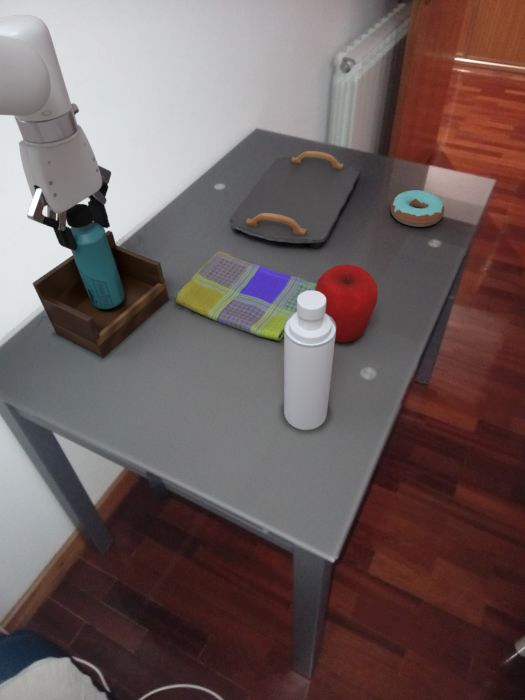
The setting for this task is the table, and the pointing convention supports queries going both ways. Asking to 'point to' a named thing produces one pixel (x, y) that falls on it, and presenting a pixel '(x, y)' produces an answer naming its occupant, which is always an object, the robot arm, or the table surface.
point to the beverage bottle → (94, 259)
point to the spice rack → (93, 323)
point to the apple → (348, 299)
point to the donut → (417, 208)
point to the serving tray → (297, 199)
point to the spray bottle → (308, 361)
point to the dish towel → (243, 295)
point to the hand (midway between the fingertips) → (86, 235)
